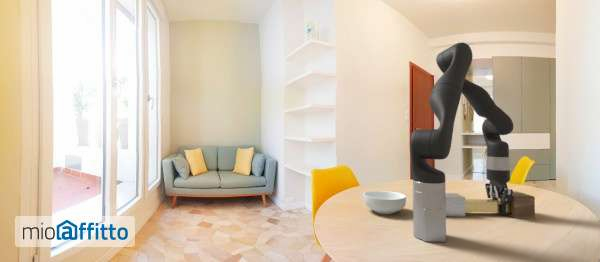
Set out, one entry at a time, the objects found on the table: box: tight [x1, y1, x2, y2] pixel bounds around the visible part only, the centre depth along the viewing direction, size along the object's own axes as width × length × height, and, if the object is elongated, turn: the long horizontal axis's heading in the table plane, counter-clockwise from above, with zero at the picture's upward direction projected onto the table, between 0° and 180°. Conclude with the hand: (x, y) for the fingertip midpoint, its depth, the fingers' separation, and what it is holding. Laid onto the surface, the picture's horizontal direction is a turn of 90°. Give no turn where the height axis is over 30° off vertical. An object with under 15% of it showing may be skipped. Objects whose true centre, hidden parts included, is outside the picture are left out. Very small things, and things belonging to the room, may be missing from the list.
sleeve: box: [445, 192, 467, 218], centre depth 110 cm, size 7×15×7 cm, turn 85°
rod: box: [465, 198, 512, 213], centre depth 109 cm, size 4×24×4 cm, turn 85°
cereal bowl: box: [363, 190, 407, 215], centre depth 114 cm, size 17×17×7 cm
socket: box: [500, 190, 536, 219], centre depth 108 cm, size 9×7×8 cm
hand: (498, 212), depth 108 cm, fingers closed on rod, 4 cm apart
